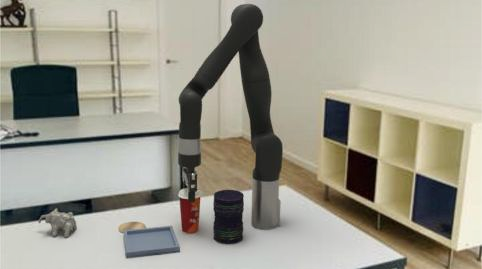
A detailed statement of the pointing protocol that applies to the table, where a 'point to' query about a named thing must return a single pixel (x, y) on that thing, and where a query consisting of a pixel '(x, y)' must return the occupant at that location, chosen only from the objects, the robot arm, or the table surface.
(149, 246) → the tray
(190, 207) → the paper cup
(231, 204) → the storage jar
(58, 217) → the elephant statuette
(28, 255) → the table surface
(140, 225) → the cork coaster
